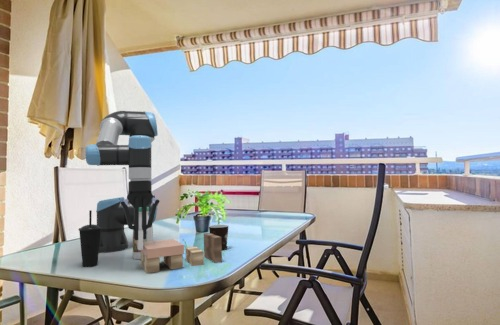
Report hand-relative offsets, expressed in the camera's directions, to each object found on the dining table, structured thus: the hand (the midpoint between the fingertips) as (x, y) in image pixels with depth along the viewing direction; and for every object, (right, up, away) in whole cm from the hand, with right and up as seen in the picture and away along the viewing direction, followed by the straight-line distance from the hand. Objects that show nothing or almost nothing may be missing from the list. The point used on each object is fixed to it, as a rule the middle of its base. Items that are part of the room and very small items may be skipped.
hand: (140, 249), depth 106 cm
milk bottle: (-5, -9, +18) cm, 21 cm away
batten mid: (+10, -7, +5) cm, 13 cm away
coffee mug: (+23, -9, +29) cm, 38 cm away
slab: (+6, -2, +3) cm, 7 cm away
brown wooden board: (+23, -7, +12) cm, 27 cm away
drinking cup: (-21, -8, +7) cm, 24 cm away
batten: (+17, -7, +9) cm, 20 cm away
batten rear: (+3, -7, +1) cm, 8 cm away
